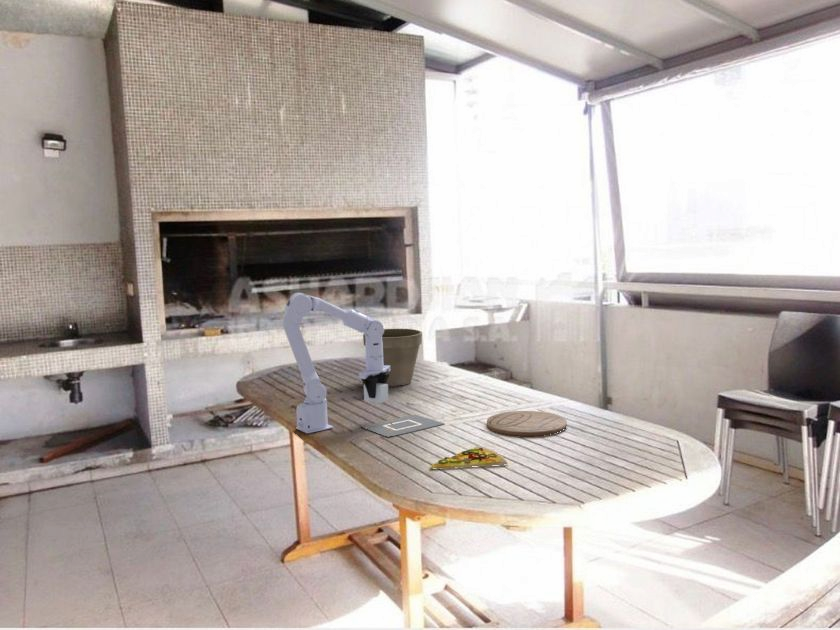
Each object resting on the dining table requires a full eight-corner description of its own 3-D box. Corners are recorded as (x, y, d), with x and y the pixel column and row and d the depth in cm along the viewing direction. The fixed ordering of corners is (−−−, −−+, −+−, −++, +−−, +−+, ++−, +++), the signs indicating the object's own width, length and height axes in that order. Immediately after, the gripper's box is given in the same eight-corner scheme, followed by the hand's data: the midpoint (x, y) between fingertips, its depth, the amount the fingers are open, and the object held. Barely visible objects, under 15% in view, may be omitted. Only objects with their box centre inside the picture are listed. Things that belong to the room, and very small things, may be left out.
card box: (381, 403, 219) (380, 385, 218) (364, 400, 223) (363, 384, 222) (388, 400, 222) (387, 383, 222) (371, 398, 226) (370, 381, 225)
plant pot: (421, 388, 270) (419, 335, 268) (360, 390, 272) (358, 337, 269) (425, 376, 295) (423, 327, 293) (369, 377, 297) (367, 329, 294)
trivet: (577, 421, 217) (577, 415, 216) (551, 442, 195) (550, 436, 195) (505, 413, 229) (505, 408, 229) (473, 432, 208) (473, 426, 208)
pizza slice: (512, 467, 176) (512, 456, 176) (442, 481, 167) (442, 469, 167) (482, 451, 190) (482, 441, 190) (416, 463, 181) (416, 453, 181)
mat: (388, 437, 204) (388, 436, 204) (360, 427, 216) (360, 426, 216) (444, 424, 217) (444, 423, 217) (415, 415, 229) (415, 414, 229)
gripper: (370, 360, 213) (372, 402, 214) (397, 353, 225) (398, 392, 226) (353, 358, 216) (355, 400, 218) (380, 351, 228) (381, 391, 230)
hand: (376, 396), depth 222 cm, fingers closed on card box, 4 cm apart
